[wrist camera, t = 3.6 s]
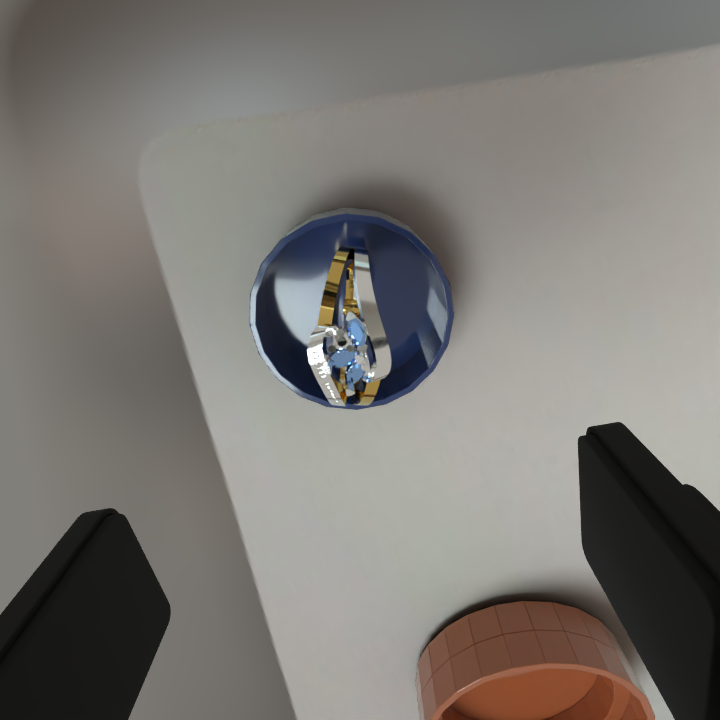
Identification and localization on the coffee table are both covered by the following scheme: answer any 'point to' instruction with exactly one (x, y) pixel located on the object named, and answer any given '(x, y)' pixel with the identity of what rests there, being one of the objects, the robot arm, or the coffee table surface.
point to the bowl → (528, 668)
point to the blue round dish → (305, 291)
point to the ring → (349, 333)
